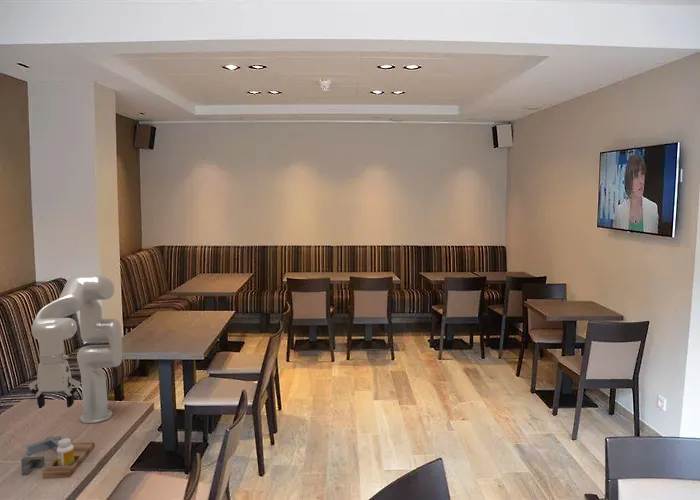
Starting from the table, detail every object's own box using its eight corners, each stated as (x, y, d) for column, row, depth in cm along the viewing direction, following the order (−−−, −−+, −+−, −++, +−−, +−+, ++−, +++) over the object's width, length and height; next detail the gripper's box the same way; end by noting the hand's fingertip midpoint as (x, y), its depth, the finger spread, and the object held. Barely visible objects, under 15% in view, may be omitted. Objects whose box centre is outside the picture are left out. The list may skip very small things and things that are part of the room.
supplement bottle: (77, 462, 209) (75, 436, 207) (70, 470, 203) (68, 443, 202) (62, 462, 209) (60, 437, 207) (55, 470, 203) (53, 444, 202)
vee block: (36, 444, 223) (35, 437, 223) (73, 443, 224) (73, 435, 223) (24, 455, 214) (23, 448, 214) (63, 454, 215) (63, 446, 215)
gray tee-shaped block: (24, 464, 207) (23, 457, 207) (44, 464, 208) (44, 456, 207) (14, 475, 200) (13, 466, 200) (35, 474, 201) (34, 466, 200)
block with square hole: (70, 448, 220) (69, 443, 219) (94, 447, 220) (94, 442, 220) (43, 478, 198) (42, 473, 198) (70, 477, 198) (69, 471, 198)
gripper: (82, 354, 204) (85, 401, 206) (32, 356, 203) (36, 403, 205) (73, 361, 196) (76, 409, 198) (21, 362, 196) (25, 411, 197)
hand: (56, 406), depth 201 cm, fingers open, 9 cm apart
